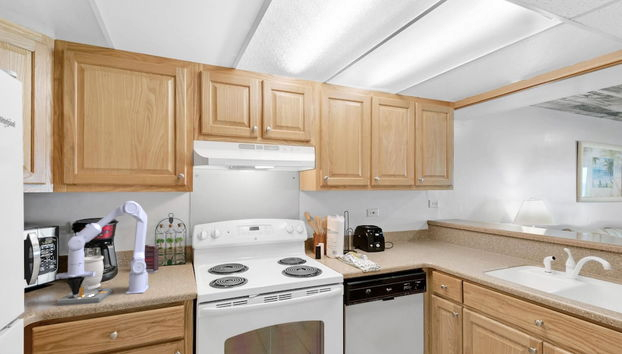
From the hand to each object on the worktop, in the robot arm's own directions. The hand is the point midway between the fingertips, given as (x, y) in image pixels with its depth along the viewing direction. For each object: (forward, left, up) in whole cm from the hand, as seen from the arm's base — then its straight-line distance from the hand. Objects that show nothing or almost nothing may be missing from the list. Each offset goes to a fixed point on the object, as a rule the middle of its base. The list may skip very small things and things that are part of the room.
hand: (75, 294), depth 132 cm
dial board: (-3, +3, -3) cm, 5 cm away
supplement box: (-43, +17, -4) cm, 47 cm away
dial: (-3, +3, -2) cm, 5 cm away
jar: (-19, -3, -4) cm, 20 cm away
